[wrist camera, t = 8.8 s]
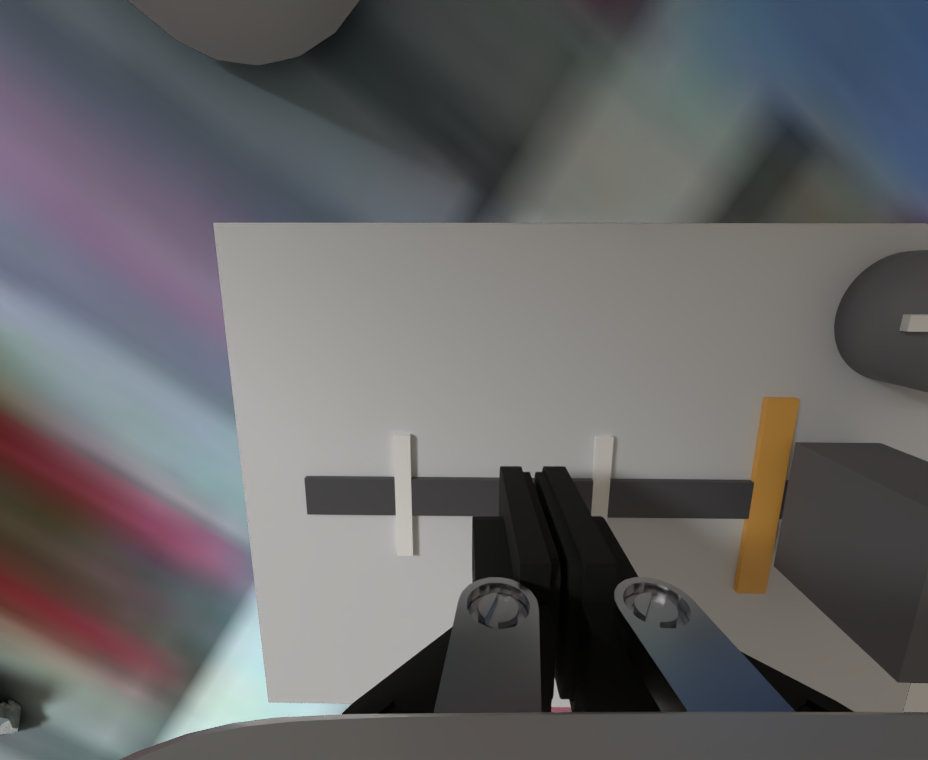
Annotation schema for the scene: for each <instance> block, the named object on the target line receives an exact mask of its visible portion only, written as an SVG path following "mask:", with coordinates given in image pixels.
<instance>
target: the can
mask: <svg viewBox="0 0 928 760" xmlns="http://www.w3.org/2000/svg"><path fill="white" fill-rule="evenodd" d="M128 1H129V2H130V3H132V4H133V5H134V6H135V7H136V8H138V9H139V10H140V11H141V12H142V13H144V14H145V15H146V16H147V17H149V18H150V19H151V20H152V21H153V22H155V23H156V24H157V25H158V26H160V27H161V28H162V29H163V30H164V31H166V32H167V33H168V34H169V35H170V36H172V37H173V38H174V39H175V40H177V41H179V42H181V43H183V44H185V45H187V46H189V47H191V48H193V49H195V50H197V51H199V52H201V53H203V54H205V55H207V56H209V57H211V58H213V59H215V60H220V61H228V62H235V63H242V64H249V65H257V66H259V65H264V64H268V63H273V62H277V61H281V60H286V59H290V58H295V57H299V56H301V55H302V54H304V53H305V52H307V51H308V50H310V49H311V48H313V47H314V46H316V45H317V44H319V43H320V42H322V41H323V40H325V39H326V38H328V37H329V36H331V35H332V34H334V33H335V32H336V31H337V30H338V28H339V27H340V26H341V24H342V23H343V22H344V20H345V19H346V18H347V16H348V15H349V14H350V12H351V11H352V10H353V8H354V7H355V6H356V4H357V3H358V2H359V0H128Z"/></svg>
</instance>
